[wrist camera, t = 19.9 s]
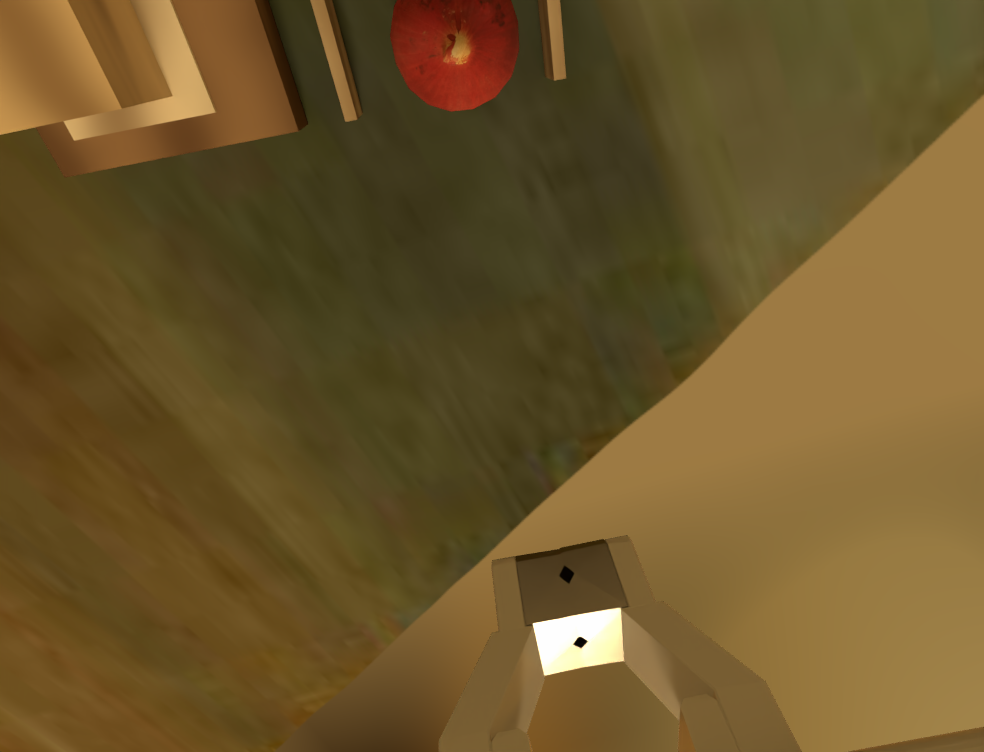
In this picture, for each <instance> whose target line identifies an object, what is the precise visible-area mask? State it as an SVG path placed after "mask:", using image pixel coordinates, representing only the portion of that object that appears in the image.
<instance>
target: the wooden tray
mask: <svg viewBox="0 0 984 752" xmlns="http://www.w3.org/2000/svg"><path fill="white" fill-rule="evenodd" d="M130 2H131V4H132V7H133V9H134V11H135V13H136V15H137V18H138V20H139V22H140V24H141V27H142V29H143V31H144V33H145V35H146V38H147V40H148V42H149V44H150V47H151V49H152V51H153V53H154V55H155V58H156V60H157V62H158V64H159V67H160V69H161V71H162V73H163V75H164V78H165V80H166V82H167V84H168V87H169V89H170V91H171V93H172V95H173V96H172V97H168V98H164V99H160V100H156V101H151V102H147V103H143V104H139V105H135V106H131V107H127V108H123V109H119V110H114V111H109V112H104V113H100V114H95V115H90V116H86V117H81V118H76V119H72V120H67V121H62V122H57V123H53V124H48V125H43V126H39V127H36V129H37V131H38V132H39V134H40V136H41V138H42V139H43V141H44V143H45V144H46V146H47V148H48V150H49V151H50V153H51V155H52V156H53V158H54V160H55V162H56V163H57V165H58V167H59V169H60V170H61V172H62V174H63V175H64V177H70V176H75V175H80V174H85V173H90V172H95V171H100V170H105V169H110V168H115V167H120V166H125V165H130V164H135V163H140V162H145V161H150V160H155V159H161V158H166V157H171V156H176V155H181V154H186V153H191V152H196V151H201V150H206V149H211V148H216V147H221V146H226V145H231V144H236V143H241V142H246V141H251V140H256V139H261V138H267V137H272V136H277V135H282V134H287V133H292V132H297V131H299V130H301V129H302V128H304V127H305V126H306V125H308V122H307V119H306V116H305V113H304V110H303V107H302V103H301V100H300V97H299V94H298V91H297V88H296V85H295V82H294V79H293V76H292V73H291V70H290V66H289V63H288V60H287V57H286V54H285V51H284V48H283V45H282V42H281V39H280V36H279V33H278V29H277V26H276V23H275V20H274V17H273V14H272V11H271V8H270V5H269V2H268V0H130ZM311 4H312V7H313V11H314V14H315V18H316V21H317V24H318V28H319V31H320V35H321V38H322V42H323V45H324V49H325V52H326V56H327V59H328V63H329V66H330V69H331V73H332V76H333V80H334V83H335V87H336V90H337V94H338V97H339V101H340V104H341V108H342V111H343V114H344V118H345V121H346V122H347V121H352V120H357V119H358V118H359V117H360V116H361V115H362V113H363V112H362V109H361V105H360V101H359V98H358V94H357V90H356V87H355V83H354V79H353V75H352V72H351V68H350V64H349V61H348V57H347V53H346V50H345V46H344V42H343V38H342V35H341V31H340V27H339V24H338V20H337V16H336V13H335V9H334V5H333V2H332V0H311ZM538 7H539V18H540V28H541V38H542V48H543V58H544V68H545V77H547V78H549V79H552V80H559V79H564V78H566V70H565V58H564V45H563V33H562V20H561V7H560V0H538Z"/></svg>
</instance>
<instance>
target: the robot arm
mask: <svg viewBox="0 0 984 752" xmlns="http://www.w3.org/2000/svg"><path fill="white" fill-rule="evenodd" d="M515 558H516V559H515ZM492 576H493V585H494V594H495V602H496V611H497V620H498V629H499V631H498V632H494V633H492V634H491V636H490V638H489V640H488V642H487V644H486V646H485V648H484V650H483V652H482V654H481V656H480V658H479V660H478V662H477V665H476V666H475V668H474V671H473V673H472V674H471V677H470V679H469V681H468V683H467V685H466V687H465V689H464V691H463V693H462V695H461V697H460V699H459V701H458V703H457V705H456V707H455V709H454V711H453V713H452V716H451V717H450V720H449V721H448V724H447V725H446V728H445V730H444V732H443V734H442V736H441V738H440V740H439V752H533V751H532V747H531V744H530V740H529V736H528V734H527V730H528V727H529V724H530V721H531V718H532V715H533V712H534V709H535V706H536V703H537V700H538V697H539V694H540V691H541V688H542V685H543V682H544V679H545V677H544V675H548V674H552V673H557V672H562V671H567V670H572V669H576V668H581V667H586V666H593V665H599V664H605V663H612V662H618V661H625V664H626V665H627V666H628V667H629V668H630V669H631V670H632V671H633V672H634V673H635V674H636V675H637V676H638V677H639V679H640V680H641V681H642V682H643V683H644V684H645V685H646V686H647V687H648V688H649V689H650V690H651V691H652V692H653V693H654V694H655V695H656V697H657V698H658V699H659V700H660V701H661V702H662V703H663V704H664V705H665V706H666V707H667V708H668V709H669V710H670V711H671V713H672V714H673V715H674V716H675V717H676V718H677V719H678V720H679V737H678V738H679V739H678V752H802V751H801V749H800V747H799V745H798V744H797V742H796V740H795V738H794V736H793V734H792V732H791V730H790V728H789V726H788V724H787V723H786V720H785V718H784V717H783V715H782V712H781V711H780V709H779V707H778V705H777V703H776V701H775V699H774V697H773V695H772V693H771V691H770V689H769V687H768V685H767V683H766V682H765V681H764V680H763V679H762V678H761V677H759V676H758V675H756V674H755V673H754V672H753V671H752V670H750V669H749V668H748V667H747V666H745V665H744V664H743V663H741V662H740V661H739V660H738V659H736V658H735V657H734V656H733V655H731V654H730V653H729V652H727V651H726V650H725V649H724V648H722V647H721V646H720V645H718V644H717V643H716V642H715V641H713V640H712V639H711V638H710V637H708V636H707V635H706V634H704V633H703V632H702V631H701V630H699V629H698V628H697V627H695V626H694V625H693V624H692V623H691V622H689V621H688V620H687V619H685V618H684V617H683V616H682V615H680V614H679V613H678V612H677V611H675V610H674V609H673V608H671V607H670V606H669V605H668V604H666V603H665V602H664V601H660V602H656V601H655V598H654V596H653V593H652V591H651V588H650V586H649V583H648V581H647V578H646V576H645V573H644V571H643V568H642V565H641V563H640V561H639V558H638V555H637V553H636V550H635V548H634V545H633V543H632V540H631V539H630V537H628V536H627V535H626V536H620V537H615V538H610V539H605V540H604V539H602V540H597V541H592V542H587V543H582V544H577V545H572V546H568V547H562V548H560V549H557V550H551V551H545V552H538V553H533V554H526V555H520V556H513V557H508V558H503V559H497V560H492ZM848 752H984V727H980V728H974V729H969V730H963V731H958V732H953V733H947V734H942V735H936V736H931V737H925V738H919V739H914V740H909V741H903V742H898V743H892V744H887V745H881V746H876V747H870V748H865V749H859V750H854V751H848Z"/></svg>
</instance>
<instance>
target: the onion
mask: <svg viewBox="0 0 984 752" xmlns="http://www.w3.org/2000/svg"><path fill="white" fill-rule="evenodd" d="M390 37H391V42H392V47H393V51H394V56H395V61H396V64H397V66H398V68H399V70H400V72H401V74H402V76H403V78H404V80H405V82H406V84H407V86H408V88H409V89H410V90H411V91H413V92H414V93H415V94H416V95H417V96H419V97H420V98H421V99H422V100H423V101H425V102H426V103H427V104H428V105H431V106H435V107H438V108H441V109H445V110H448V111H459V110H468V109H474V108H476V107H478V106H480V105H481V104H483V103H485V102H487V101H489V100H491V99H493V98H495V97H496V96H497V94H498V93H499V92H500V91H501V89H502V88H503V87H504V85H505V84H506V83H507V82H508V80H509V79H510V78H511V76H512V73H513V70H514V66H515V63H516V59H517V56H518V52H519V34H518V20H517V17H516V14H515V11H514V8H513V5H512V2H511V0H397V2H396V4H395V6H394V11H393V18H392V26H391V33H390Z"/></svg>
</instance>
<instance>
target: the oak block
mask: <svg viewBox="0 0 984 752" xmlns="http://www.w3.org/2000/svg"><path fill="white" fill-rule="evenodd" d="M172 96H173V95H172V93H171V91H170V89H169V87H168V84H167V82H166V80H165V78H164V75H163V73H162V71H161V69H160V67H159V64H158V62H157V60H156V58H155V55H154V53H153V51H152V49H151V47H150V44H149V42H148V40H147V38H146V35H145V33H144V31H143V29H142V27H141V24H140V22H139V20H138V18H137V15H136V13H135V11H134V9H133V7H132V4H131V2H130V0H0V135H1V134H6V133H10V132H15V131H20V130H24V129H29V128H34V127H39V126H43V125H48V124H53V123H57V122H62V121H67V120H72V119H76V118H81V117H86V116H90V115H95V114H100V113H104V112H109V111H114V110H119V109H123V108H127V107H131V106H135V105H139V104H143V103H147V102H151V101H156V100H160V99H164V98H168V97H172Z"/></svg>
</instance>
